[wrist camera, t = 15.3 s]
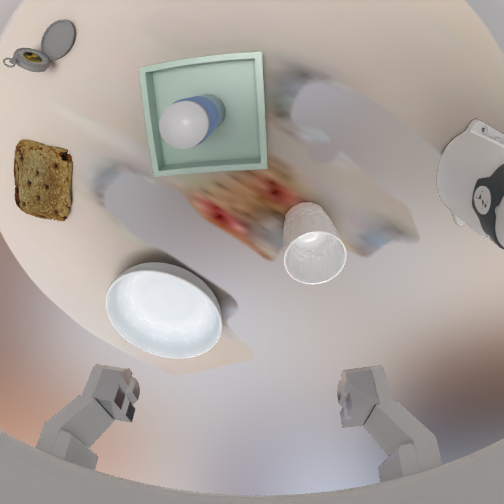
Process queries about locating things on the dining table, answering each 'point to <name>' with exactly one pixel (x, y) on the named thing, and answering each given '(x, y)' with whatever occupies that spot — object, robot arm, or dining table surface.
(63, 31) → the pocket watch
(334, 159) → the dining table surface
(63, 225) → the dining table surface
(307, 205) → the white cup
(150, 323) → the serving bowl
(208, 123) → the shaker
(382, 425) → the robot arm
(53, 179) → the pastry
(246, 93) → the tray
